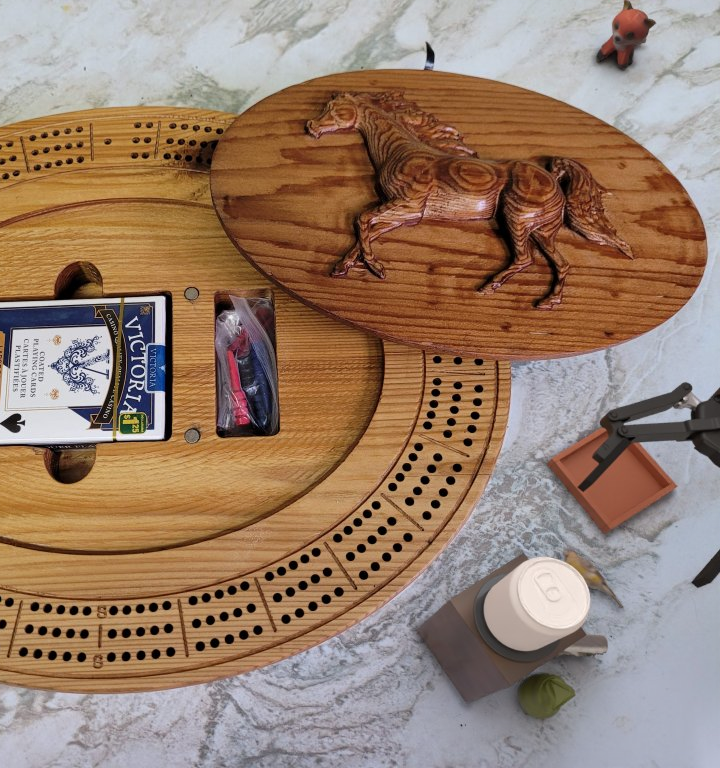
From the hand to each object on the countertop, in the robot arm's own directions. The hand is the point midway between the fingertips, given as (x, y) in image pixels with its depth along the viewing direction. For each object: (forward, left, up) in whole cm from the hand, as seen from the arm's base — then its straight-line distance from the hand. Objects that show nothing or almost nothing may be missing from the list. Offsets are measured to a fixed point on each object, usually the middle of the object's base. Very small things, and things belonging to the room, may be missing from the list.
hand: (640, 533), depth 83 cm
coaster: (0, +10, -16) cm, 19 cm away
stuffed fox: (+73, -83, -36) cm, 116 cm away
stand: (0, +10, -36) cm, 37 cm away
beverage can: (0, +10, -15) cm, 18 cm away
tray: (+9, -22, -36) cm, 43 cm away
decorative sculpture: (-4, -5, -36) cm, 36 cm away
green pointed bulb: (-10, +7, -36) cm, 38 cm away
